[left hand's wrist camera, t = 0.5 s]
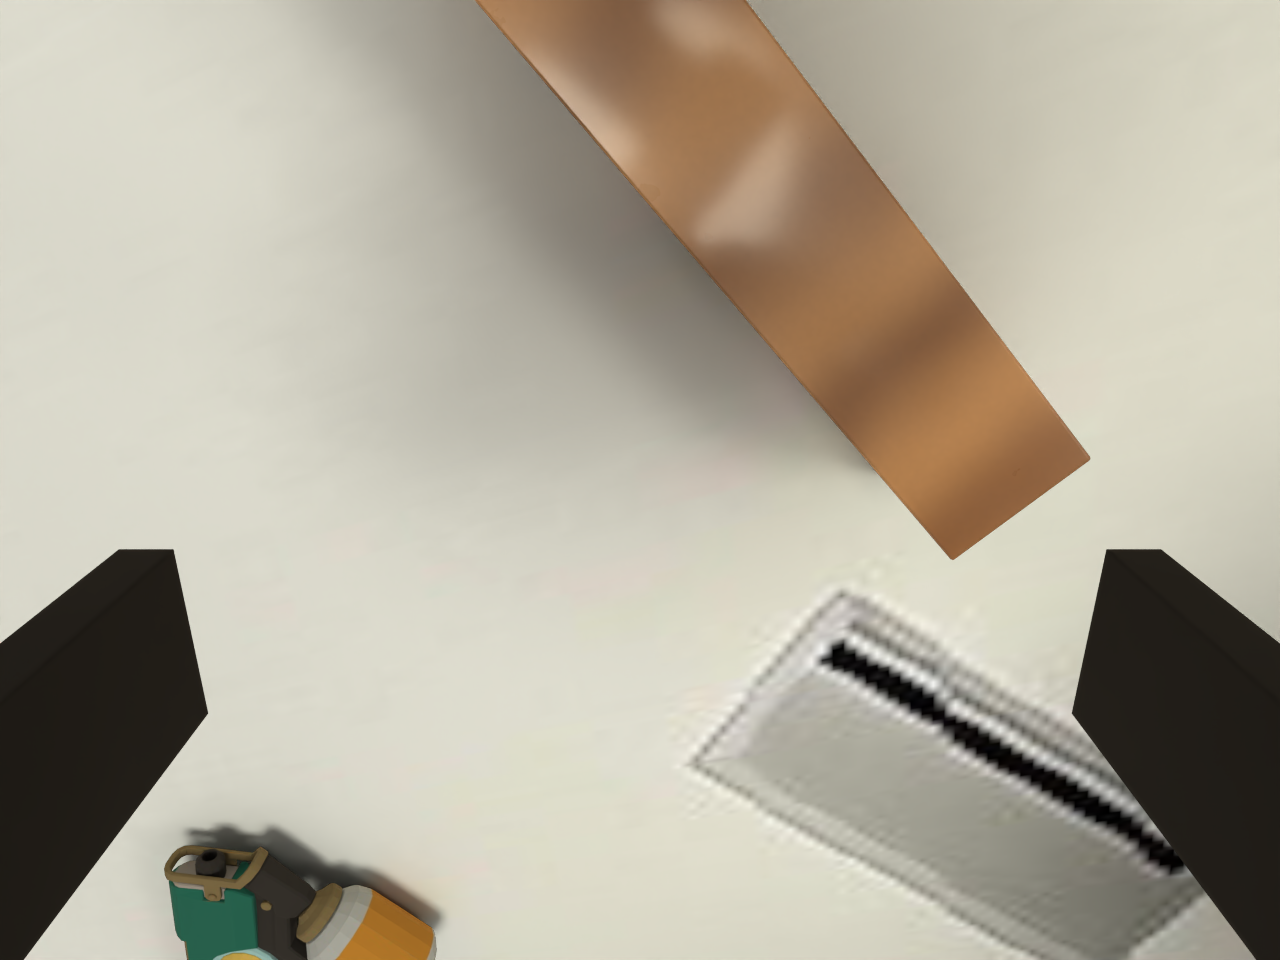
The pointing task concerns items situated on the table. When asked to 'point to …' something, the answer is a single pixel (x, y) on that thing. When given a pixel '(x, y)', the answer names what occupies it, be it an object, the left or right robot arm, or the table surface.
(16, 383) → the table surface
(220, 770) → the table surface
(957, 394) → the bar
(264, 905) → the spray gun
